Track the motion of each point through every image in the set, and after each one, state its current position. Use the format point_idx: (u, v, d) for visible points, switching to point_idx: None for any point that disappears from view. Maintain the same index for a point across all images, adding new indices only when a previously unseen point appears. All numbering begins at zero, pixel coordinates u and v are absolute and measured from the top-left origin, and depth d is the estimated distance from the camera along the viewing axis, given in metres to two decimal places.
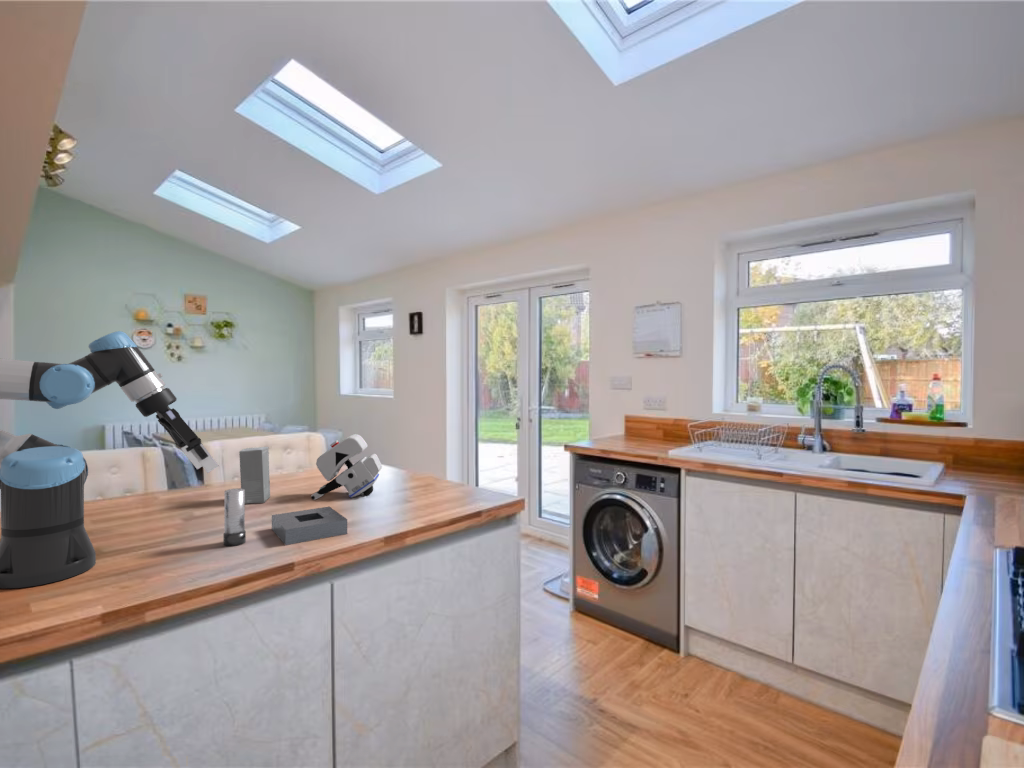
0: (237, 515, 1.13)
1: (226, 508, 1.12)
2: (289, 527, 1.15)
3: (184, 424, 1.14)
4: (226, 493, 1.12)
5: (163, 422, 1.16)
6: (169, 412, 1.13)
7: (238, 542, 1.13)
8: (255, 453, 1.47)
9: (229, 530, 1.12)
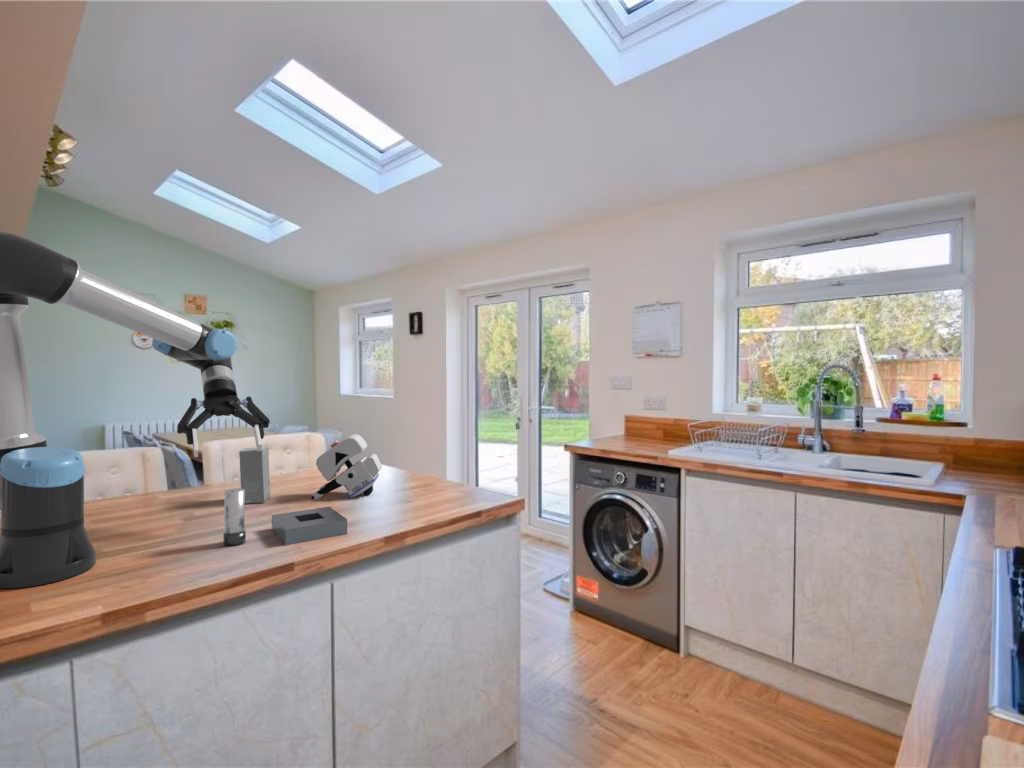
0: (237, 515, 1.13)
1: (226, 508, 1.12)
2: (289, 527, 1.15)
3: None
4: (226, 493, 1.12)
5: None
6: None
7: (238, 542, 1.13)
8: (255, 453, 1.47)
9: (229, 530, 1.12)
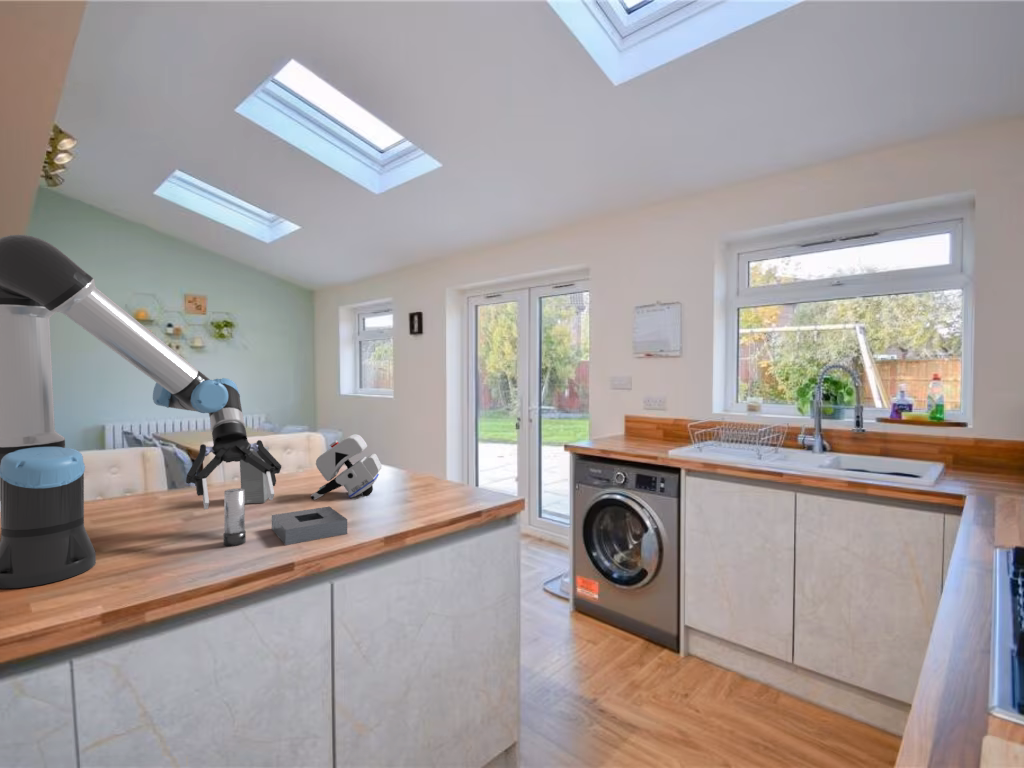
0: (237, 515, 1.13)
1: (226, 508, 1.12)
2: (289, 527, 1.15)
3: None
4: (226, 493, 1.12)
5: None
6: None
7: (238, 542, 1.13)
8: (255, 453, 1.47)
9: (229, 530, 1.12)
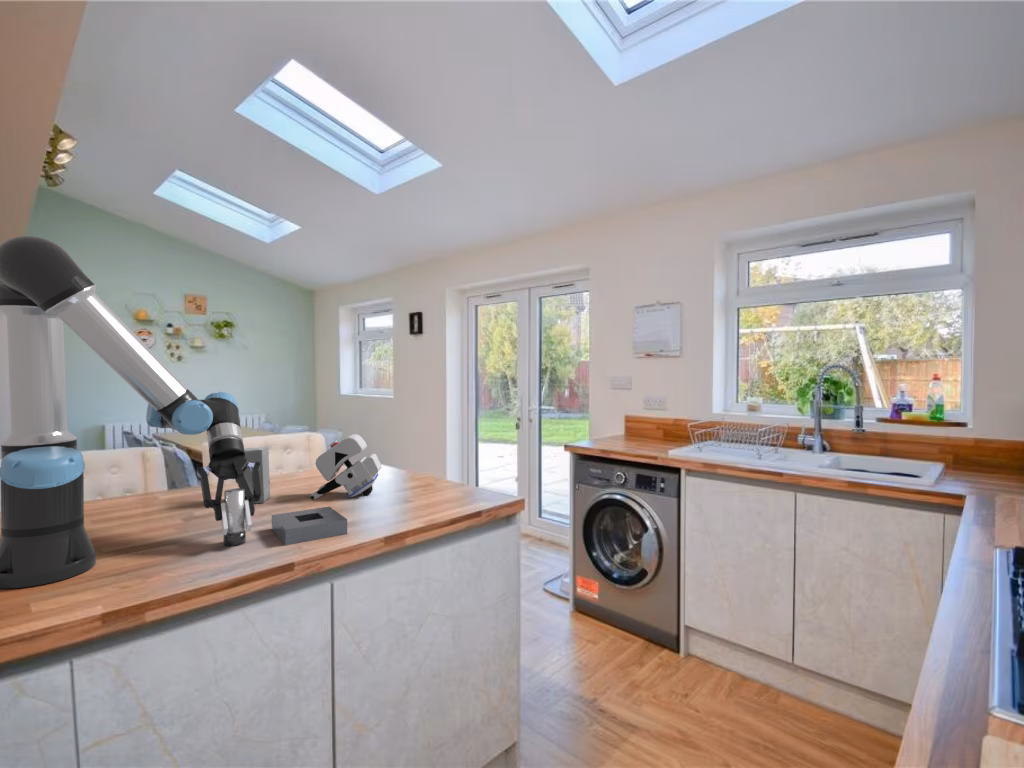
0: (237, 515, 1.13)
1: (226, 508, 1.12)
2: (289, 527, 1.15)
3: None
4: (226, 493, 1.12)
5: (239, 464, 1.20)
6: None
7: (238, 542, 1.13)
8: (255, 453, 1.47)
9: (229, 530, 1.12)
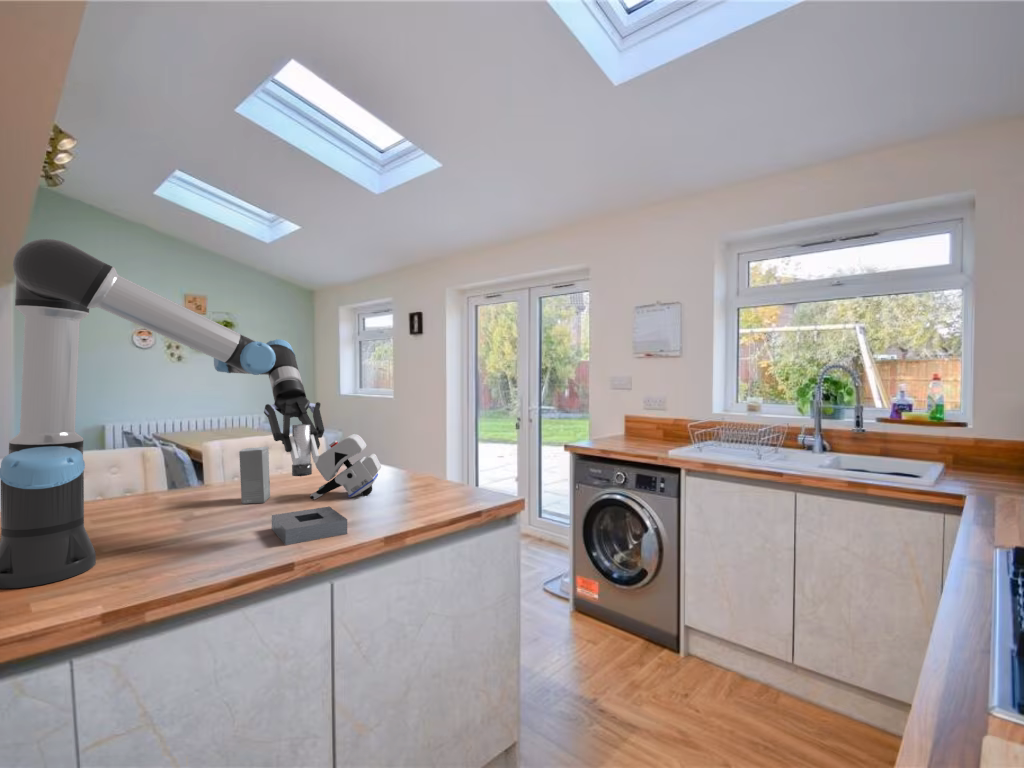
0: (305, 447, 1.21)
1: (295, 441, 1.20)
2: (289, 527, 1.15)
3: None
4: (294, 427, 1.20)
5: None
6: None
7: (306, 472, 1.21)
8: (255, 453, 1.47)
9: (298, 461, 1.20)
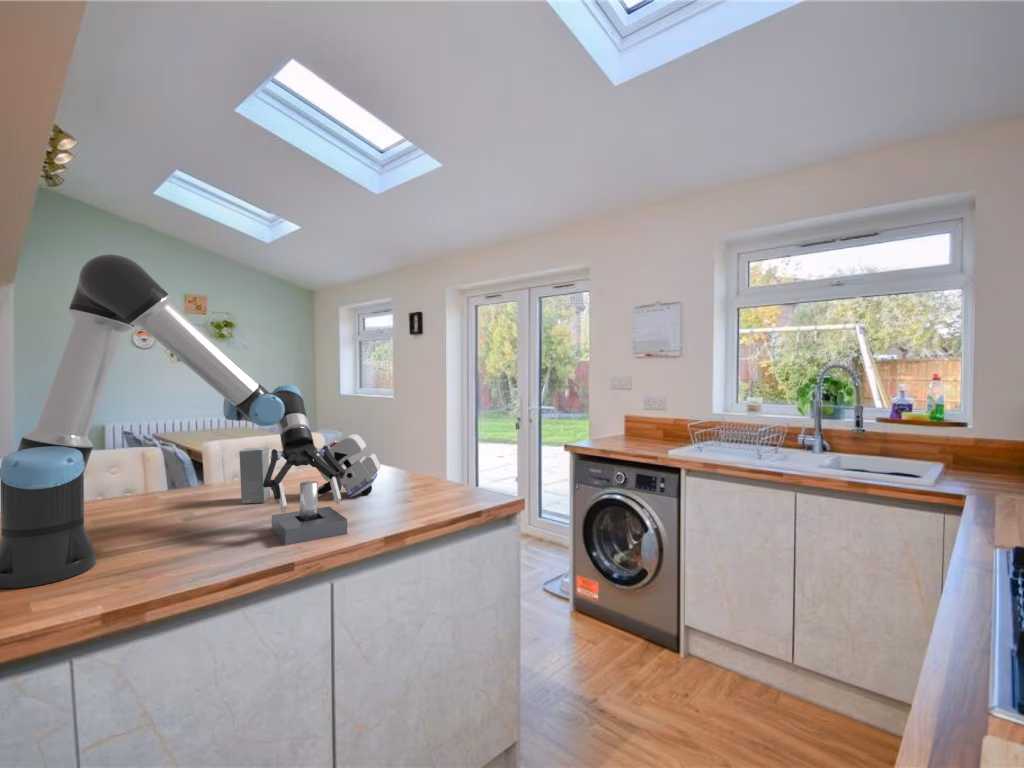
0: (312, 505, 1.22)
1: (302, 499, 1.21)
2: (289, 527, 1.15)
3: None
4: (302, 485, 1.21)
5: None
6: None
7: None
8: (255, 453, 1.47)
9: (305, 519, 1.21)
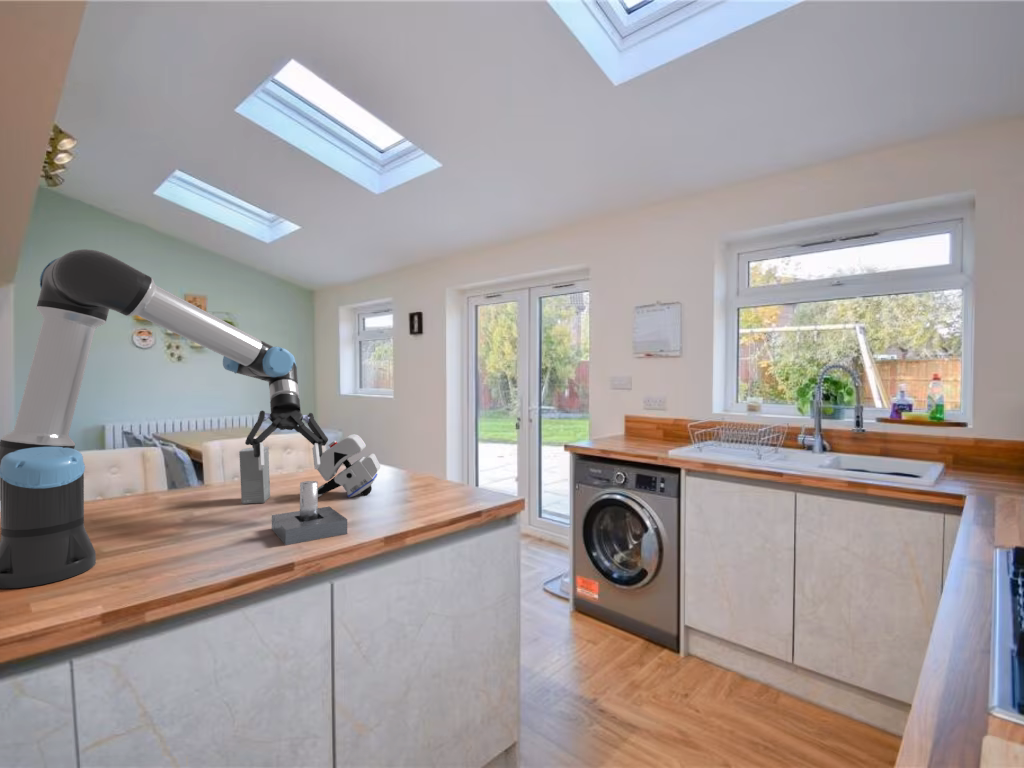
0: (312, 505, 1.22)
1: (302, 499, 1.21)
2: (289, 527, 1.15)
3: None
4: (302, 485, 1.21)
5: None
6: None
7: None
8: None
9: (305, 519, 1.21)
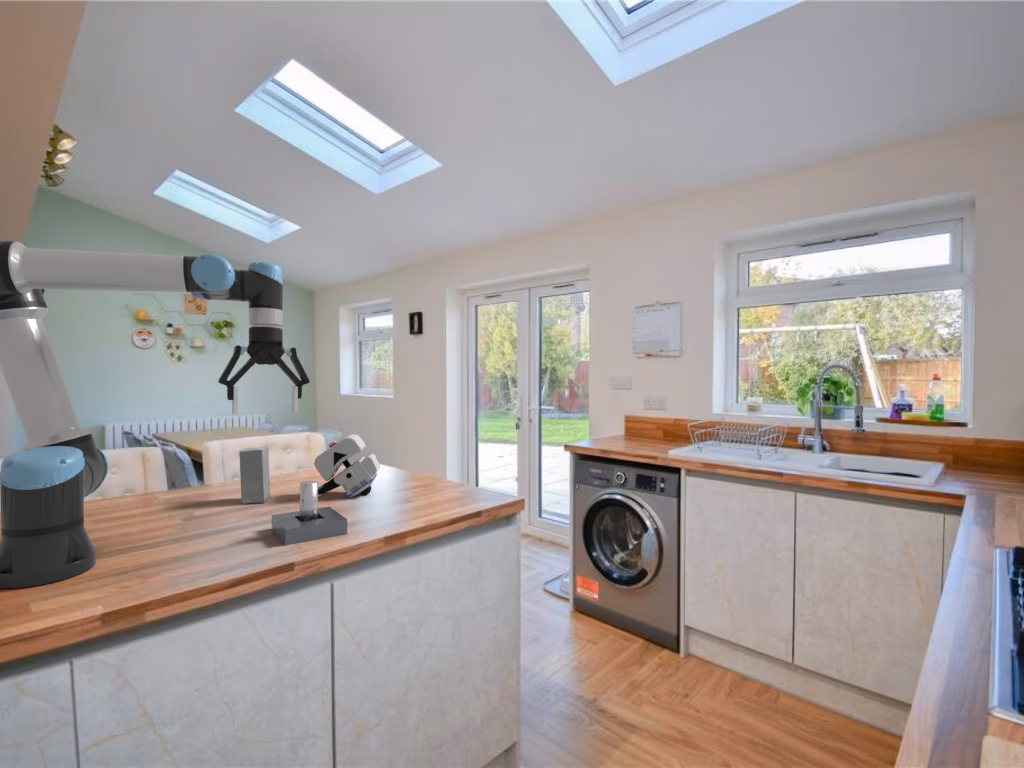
0: (312, 505, 1.22)
1: (302, 499, 1.21)
2: (289, 527, 1.15)
3: None
4: (302, 485, 1.21)
5: (277, 354, 1.25)
6: None
7: None
8: (255, 453, 1.47)
9: (305, 519, 1.21)
